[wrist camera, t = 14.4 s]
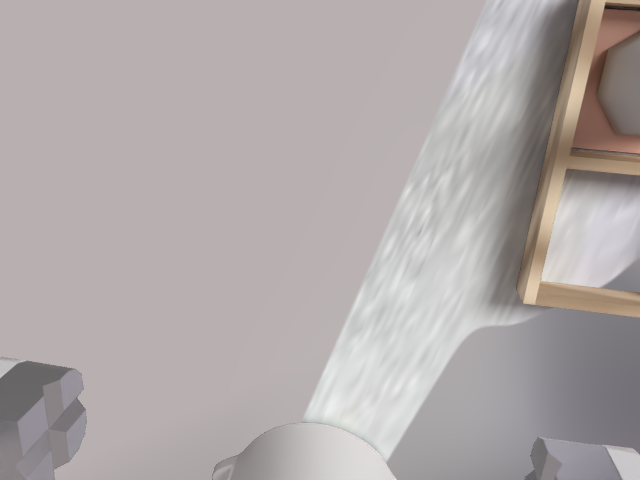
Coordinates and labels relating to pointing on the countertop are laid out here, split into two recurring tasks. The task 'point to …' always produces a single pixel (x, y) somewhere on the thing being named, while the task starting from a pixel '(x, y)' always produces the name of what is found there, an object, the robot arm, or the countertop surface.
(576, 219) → the countertop surface
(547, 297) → the oak caddy
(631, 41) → the flask
